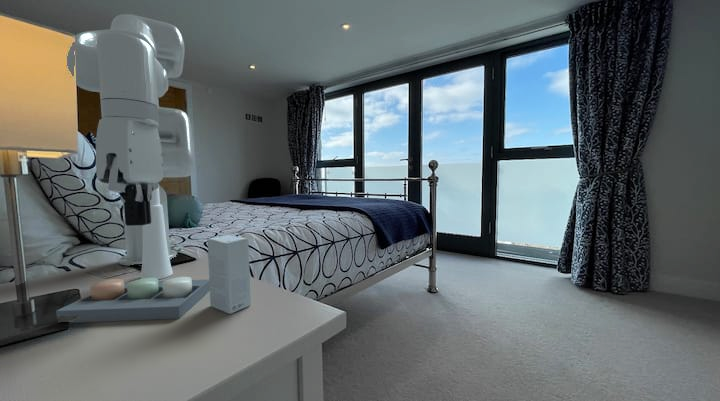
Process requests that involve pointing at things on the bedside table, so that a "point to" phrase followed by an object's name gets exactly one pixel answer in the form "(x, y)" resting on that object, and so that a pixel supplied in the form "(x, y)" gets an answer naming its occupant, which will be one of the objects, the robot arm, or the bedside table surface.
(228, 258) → the skincare box
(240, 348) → the bedside table surface
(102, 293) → the terracotta button
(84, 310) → the button board
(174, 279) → the ivory button
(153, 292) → the sage button
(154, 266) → the cosmetic bottle
